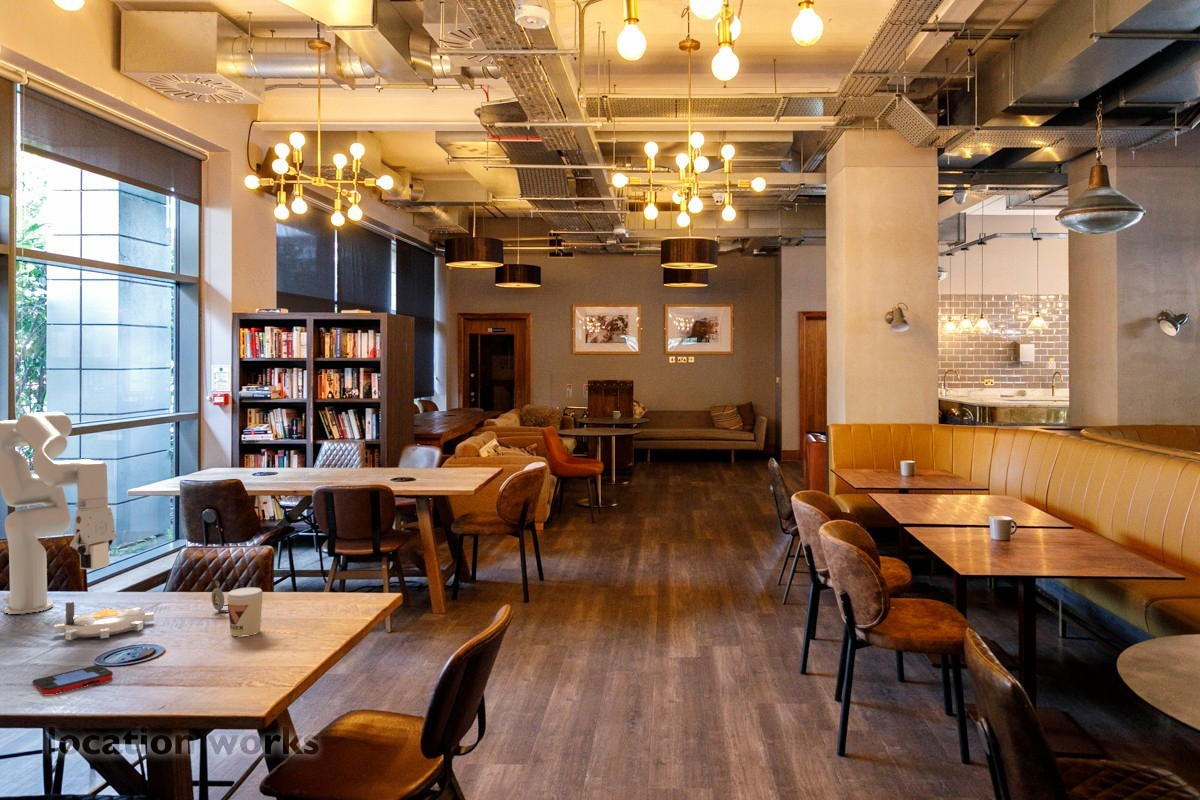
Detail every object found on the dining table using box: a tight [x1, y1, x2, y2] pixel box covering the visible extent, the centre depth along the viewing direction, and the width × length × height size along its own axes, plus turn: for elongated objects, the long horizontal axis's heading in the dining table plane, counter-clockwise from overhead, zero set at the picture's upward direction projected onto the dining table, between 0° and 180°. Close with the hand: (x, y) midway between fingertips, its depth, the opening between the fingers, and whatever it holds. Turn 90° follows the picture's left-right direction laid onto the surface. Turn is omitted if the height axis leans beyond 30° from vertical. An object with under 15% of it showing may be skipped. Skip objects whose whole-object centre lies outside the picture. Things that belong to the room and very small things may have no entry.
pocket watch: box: [211, 580, 229, 612], centre depth 254 cm, size 8×8×10 cm
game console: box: [32, 664, 113, 695], centre depth 195 cm, size 14×13×2 cm
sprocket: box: [53, 601, 155, 641], centre depth 235 cm, size 24×24×8 cm
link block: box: [79, 542, 110, 571], centre depth 238 cm, size 5×5×7 cm
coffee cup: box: [226, 586, 264, 636], centre depth 232 cm, size 9×9×12 cm
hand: (94, 564), depth 238 cm, fingers closed on link block, 4 cm apart
